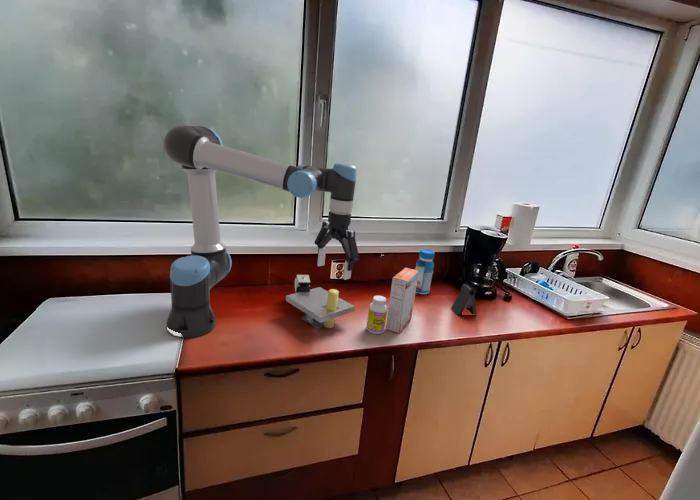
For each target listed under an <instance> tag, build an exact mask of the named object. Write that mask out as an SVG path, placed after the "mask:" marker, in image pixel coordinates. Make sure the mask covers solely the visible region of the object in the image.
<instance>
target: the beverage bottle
mask: <svg viewBox="0 0 700 500" xmlns="http://www.w3.org/2000/svg"><path fill="white" fill-rule="evenodd" d="M435 255H436V254H435V251H434V250H431V249H428V248H422V249H420V250H419V254H418V257H419V258H418V259H417V261H416V263H415V265H416V266H415V268H414V270H417V271H419V273H418V280H417V286H416V292H415V294H418V293H419V294H420V295H427V294H429V293H430V291H431V283H432V279H433V274H434V268H435V263H434V261H433V260H434V259H435ZM419 294H418V295H419Z"/></svg>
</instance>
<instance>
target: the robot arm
mask: <svg viewBox="0 0 700 500" xmlns="http://www.w3.org/2000/svg"><path fill="white" fill-rule="evenodd" d="M163 148H164V152H165V153H166V155H167V157H168V158H169V159H170V160H171V161H173V162H174V163H176V164H178V165H181V169H182V171H184V172H185V173H186V174H187V181H188V190H189V200H190V212H191V219H192V229H193V239H194V244H193V245H192V246H191V247H190V255H187V256H181V257H179V258H177V259H175V260H174V261H173V262H172V263H171V265H170V272H169V279H170V280H169V281H170V295H171V296H170V297H171V298H170V299H171V301H170V302H171V309H170V310H169V313H168V317H167V319H166V324H167V325H166V324H165V325H166V328H167V327H168V328H169V329H171V330H173V331H175V332H178V333H181V334H182V335H183V337H184V338H185V339H187V338H188V339H190V338H191V339H192V338H197V337H202V336H204V335H208V334H209V333H210V332H211V331H213V330H214V329H215V326H216V316H215V315H214V312H213V309H212V307H211V303H210V302H211V301H210V298H211V296H210V290H211V289H212V288H213V287H214V286H215V285H217V284H218V283H219V282H221V281H222V280H223V279H225V278H226V276H227V275H228V274H229V273H230V271H231V268H232V264H233V263H232V262H233V261H232V258H231V257H232V256H231V255H230V253H228V252H227V249H226V245H225V244H224V243H223V242H222V241H221V232H220V231H221V230H220V229H221V228H220V220H219V219H220V218H219V216H220V215H219V207H218V205H219V204H218V193H217V182H216V181H217V180H216V173H217V172H219V173H223V174H227V175H230V176H234V177H237V178H241V179H243V180H247V181H251V182H254V183H258V184H261V185H264V186H268V187H271V188H275V189H279V190H282V191H286V192H289V193H290V194H291V195H293V196H294V197H295V198H301V199H302V198H307V197H309V196H311V195H313V194H314V193H315V192H317V191H318V192H325V193H330V198H329V204H328V205H329V208H328V210H329V211H328V215H327V216H328V217H327V221H326V220H325V221H322V225H321V228H320V230H319V232H318V234H317V236H316V238H315V240H314V243H313V244H314V245H316V246H317V267H322V266H325V263H326V254H327V247H326V246H327V245H328V244H329V243H330V241H331V240H332V239H335V240H336V241H338V242H339V243H340V244H341V246H342V250H343V253H344V254H345V258H346V260H345V261H344V267H343V277H342V280H344V281H345V280H349V279H351V277H352V271H353V269H354V266H355V265H354V263H355V262H358V261H360V256H359V251H358V250H359V249H358V247H357V245H358V244H357V241H356V231H355V230H349V226H350V225H351V221H352V214H351V213H352V212H353V205H354V204H353V203H354V197H355V189H356V182H357V167H356V166H355V165H354V164H349V163H341V162H339V163H338V162H336V163H334V164H333V166H332V168H326V167H321V166H320V167H318V166H313V165H310V164H305V165H304V164H298V165H297V166H294V165H290V164H287V163H284V162H280V161H277V160H274V159H270V158H266V157H263V156H260V155H256V154H253V153H249V152H247V151H242V150H239V149H235V148H232V147H229V146H226V145H224V144H223V141H222V138H221V136H220V135H219V134H218V133H217V131H215V130H213V129H212V128H211V127H210V128H209V127H207V126H201V125H177V126H174V127H172V128H171V129H169V130H168V131H167V132H166V134H165V135H164V139H163Z"/></svg>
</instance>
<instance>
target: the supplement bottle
mask: <svg viewBox="0 0 700 500" xmlns="http://www.w3.org/2000/svg"><path fill="white" fill-rule="evenodd" d="M386 303H387V298H386V297H385V296H383V295H374V296H373V297H372V302H371V303H370V304H369V307H368V312H367V321H366V330H367V331H368V333H371V334H373V335H381V334H383V333H384V332H385V330H386V323H387V315H388V308H389V306H388V305H387V304H386Z"/></svg>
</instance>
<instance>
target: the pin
mask: <svg viewBox="0 0 700 500" xmlns="http://www.w3.org/2000/svg"><path fill="white" fill-rule="evenodd" d="M327 291H328V299H327V306H326V309H327V310H328V311H333V310H336V308H337V301H338V297H339V293H340V291H339V290H338V289H335V288H330V289H329V290H327ZM335 320H336V318H333V319H330V320H327V321H324V326H323V327H324V328H326V329H332V328H334V326H335V323H334V321H335ZM335 322H336V321H335Z"/></svg>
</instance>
